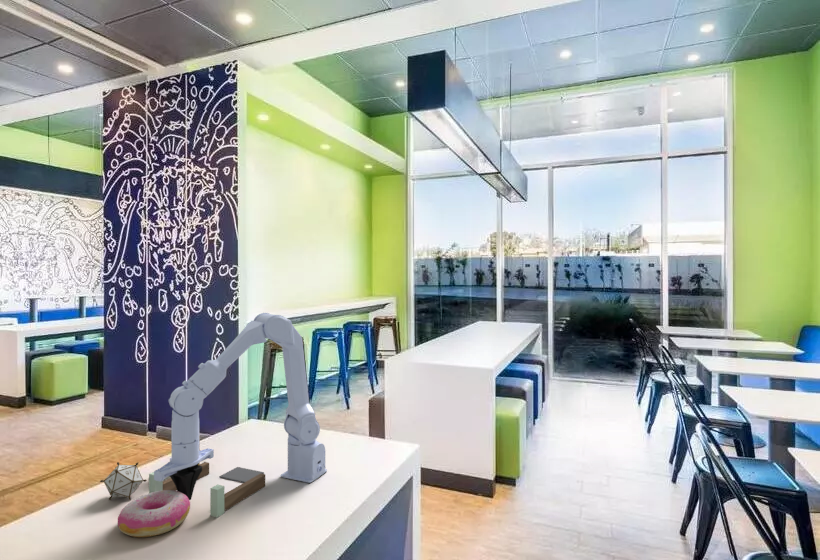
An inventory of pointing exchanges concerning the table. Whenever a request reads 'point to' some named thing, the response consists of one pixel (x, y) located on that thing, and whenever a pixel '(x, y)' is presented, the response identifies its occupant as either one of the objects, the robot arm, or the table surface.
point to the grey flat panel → (240, 474)
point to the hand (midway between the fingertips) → (185, 499)
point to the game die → (123, 481)
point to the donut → (154, 513)
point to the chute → (216, 490)
